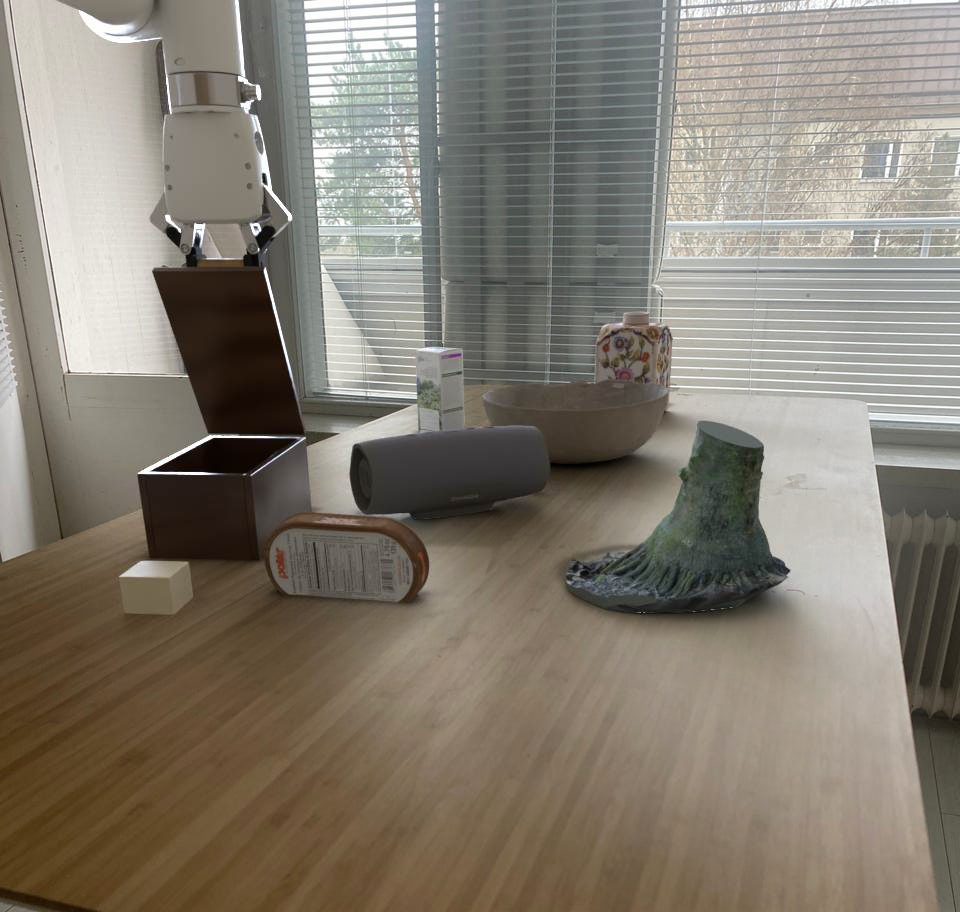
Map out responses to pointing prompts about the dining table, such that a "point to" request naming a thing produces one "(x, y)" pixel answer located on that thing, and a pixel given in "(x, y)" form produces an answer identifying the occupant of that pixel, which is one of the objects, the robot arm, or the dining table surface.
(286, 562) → the tin
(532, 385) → the bowl
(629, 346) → the decorative jar
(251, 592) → the dining table surface
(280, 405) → the lid
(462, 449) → the bluetooth speaker
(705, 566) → the tree stump
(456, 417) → the syrup box
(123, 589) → the block
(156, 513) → the chest
